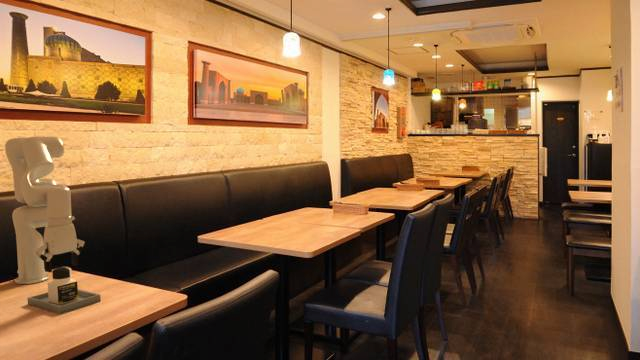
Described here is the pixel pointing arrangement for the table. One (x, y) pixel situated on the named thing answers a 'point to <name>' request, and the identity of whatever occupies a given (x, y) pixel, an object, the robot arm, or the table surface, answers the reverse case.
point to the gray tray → (83, 300)
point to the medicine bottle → (62, 286)
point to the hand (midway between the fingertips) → (62, 268)
